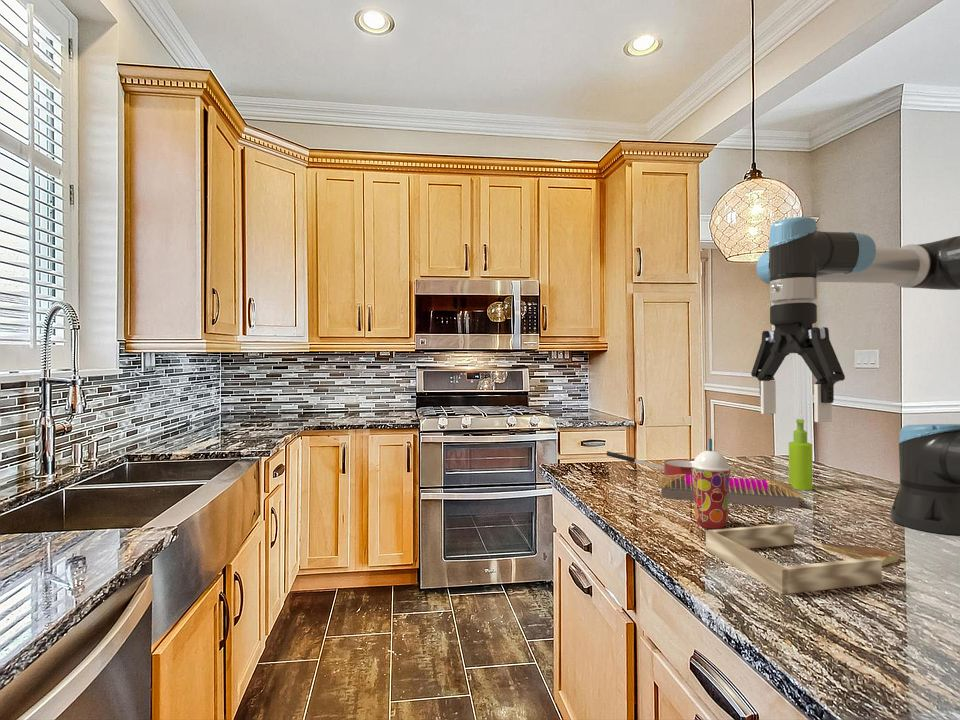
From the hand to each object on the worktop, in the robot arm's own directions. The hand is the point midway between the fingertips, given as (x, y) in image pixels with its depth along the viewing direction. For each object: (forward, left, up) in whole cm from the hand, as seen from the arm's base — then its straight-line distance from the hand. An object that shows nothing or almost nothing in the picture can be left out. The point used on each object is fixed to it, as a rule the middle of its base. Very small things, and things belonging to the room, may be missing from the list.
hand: (793, 417), depth 99 cm
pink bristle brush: (-18, -45, -28) cm, 57 cm away
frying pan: (-15, -76, -28) cm, 82 cm away
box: (+2, 0, -28) cm, 28 cm away
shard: (-15, 0, -28) cm, 32 cm away
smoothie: (+1, -24, -28) cm, 37 cm away
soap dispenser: (-46, -49, -28) cm, 73 cm away
